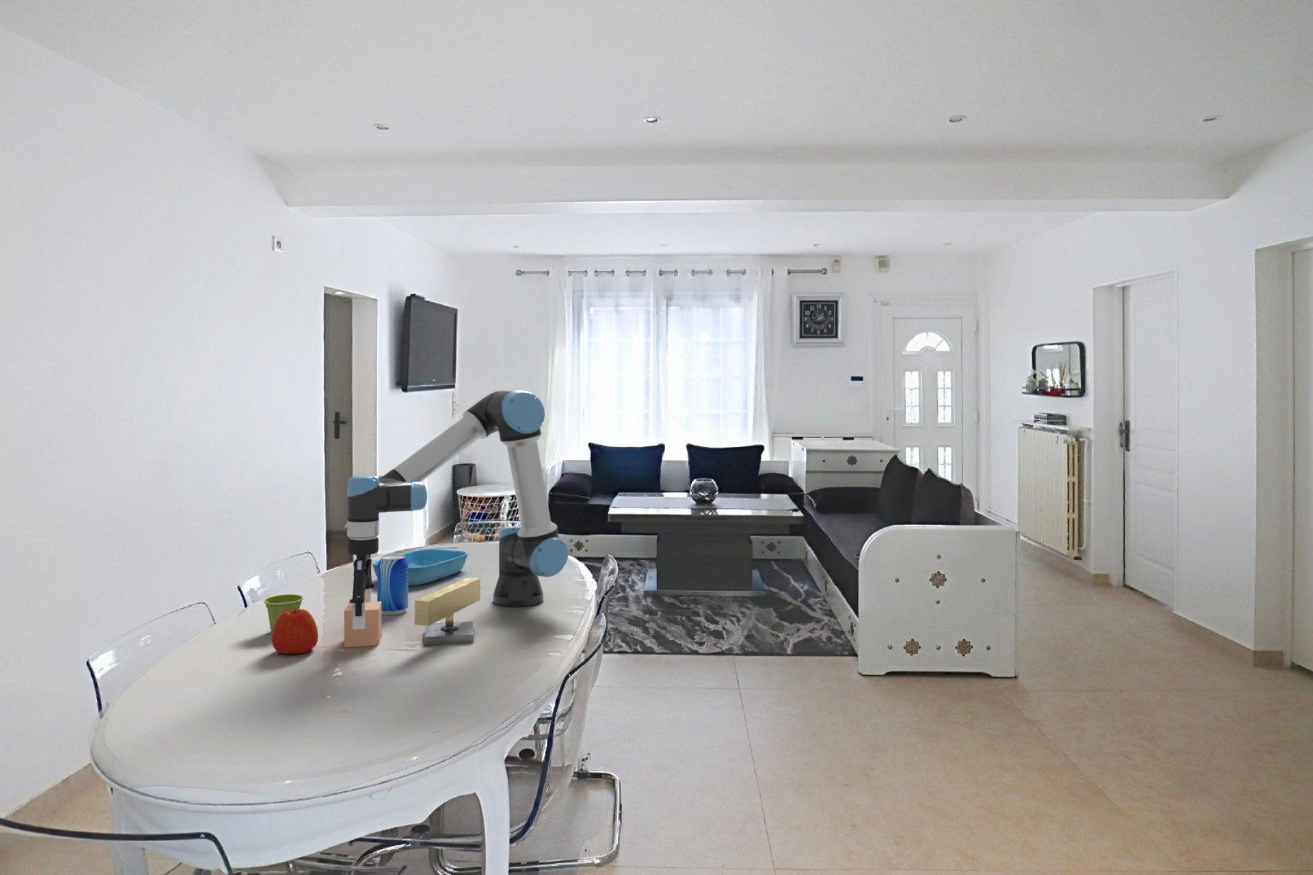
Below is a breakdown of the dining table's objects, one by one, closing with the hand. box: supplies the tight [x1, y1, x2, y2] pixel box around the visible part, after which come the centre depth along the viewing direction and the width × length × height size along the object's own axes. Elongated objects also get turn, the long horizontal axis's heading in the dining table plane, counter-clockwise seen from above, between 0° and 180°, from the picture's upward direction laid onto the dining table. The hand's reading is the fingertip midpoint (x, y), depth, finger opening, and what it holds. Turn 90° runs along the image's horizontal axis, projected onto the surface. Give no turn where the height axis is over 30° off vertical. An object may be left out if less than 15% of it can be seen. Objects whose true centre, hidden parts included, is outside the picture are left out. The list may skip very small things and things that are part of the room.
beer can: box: [376, 554, 409, 616], centre depth 227 cm, size 8×8×16 cm
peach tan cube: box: [343, 601, 383, 648], centre depth 200 cm, size 8×8×9 cm
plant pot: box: [263, 593, 304, 634], centre depth 208 cm, size 9×9×9 cm
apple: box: [271, 608, 319, 655], centre depth 192 cm, size 10×10×10 cm
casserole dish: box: [371, 548, 469, 586], centre depth 273 cm, size 37×22×7 cm, turn 161°
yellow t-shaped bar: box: [414, 577, 481, 628], centre depth 205 cm, size 26×4×10 cm, turn 164°
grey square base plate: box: [423, 620, 475, 646], centre depth 205 cm, size 12×12×2 cm
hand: (362, 621), depth 200 cm, fingers open, 13 cm apart
